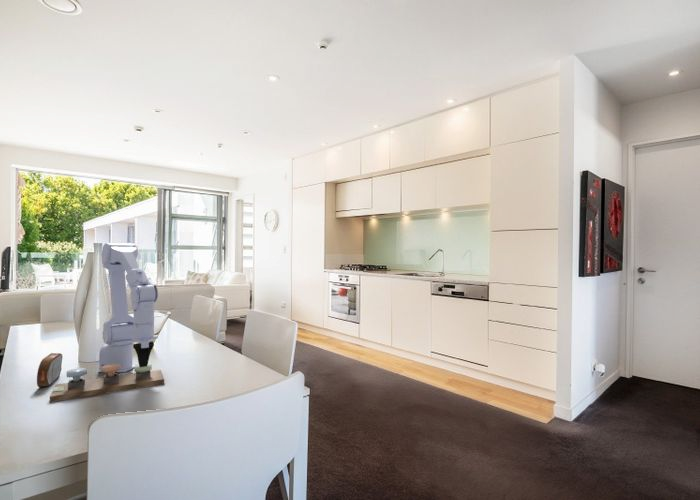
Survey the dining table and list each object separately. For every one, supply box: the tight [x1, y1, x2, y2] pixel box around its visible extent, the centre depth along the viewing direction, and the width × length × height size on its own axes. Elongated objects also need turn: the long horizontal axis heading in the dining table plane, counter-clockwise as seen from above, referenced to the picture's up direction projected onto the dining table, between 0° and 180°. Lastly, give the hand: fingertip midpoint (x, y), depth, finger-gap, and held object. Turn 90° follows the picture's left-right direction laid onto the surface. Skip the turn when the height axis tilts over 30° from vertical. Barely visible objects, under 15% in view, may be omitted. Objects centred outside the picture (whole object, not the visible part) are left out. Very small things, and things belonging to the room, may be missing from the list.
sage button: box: [133, 363, 153, 373], centre depth 118 cm, size 5×5×3 cm
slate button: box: [65, 367, 88, 382], centre depth 109 cm, size 5×5×3 cm
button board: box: [49, 369, 165, 403], centre depth 114 cm, size 28×11×3 cm, turn 122°
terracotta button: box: [101, 364, 121, 377], centre depth 114 cm, size 5×5×3 cm
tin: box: [36, 352, 63, 388], centre depth 117 cm, size 15×3×8 cm, turn 23°
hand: (143, 366), depth 118 cm, fingers closed, pressing on sage button
